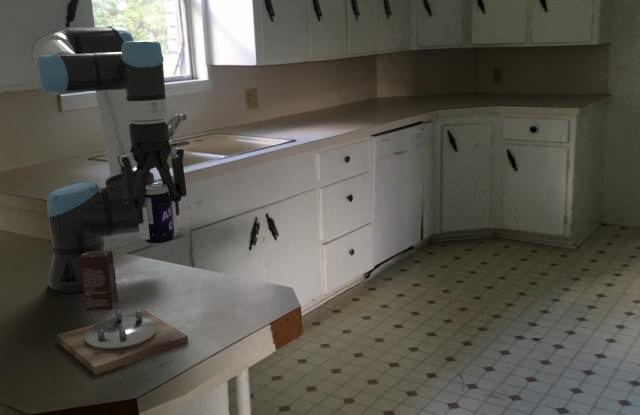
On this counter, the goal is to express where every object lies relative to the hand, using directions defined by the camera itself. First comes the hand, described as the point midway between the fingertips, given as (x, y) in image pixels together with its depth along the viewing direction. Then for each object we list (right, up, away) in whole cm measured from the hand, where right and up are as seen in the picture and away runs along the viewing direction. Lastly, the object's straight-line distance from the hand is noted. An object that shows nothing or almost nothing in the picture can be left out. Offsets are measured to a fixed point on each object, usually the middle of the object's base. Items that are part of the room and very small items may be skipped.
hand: (159, 234), depth 139 cm
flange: (-5, -19, -10) cm, 22 cm away
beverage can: (0, -2, 0) cm, 2 cm away
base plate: (-5, -20, -10) cm, 23 cm away
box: (-14, -16, +9) cm, 23 cm away
